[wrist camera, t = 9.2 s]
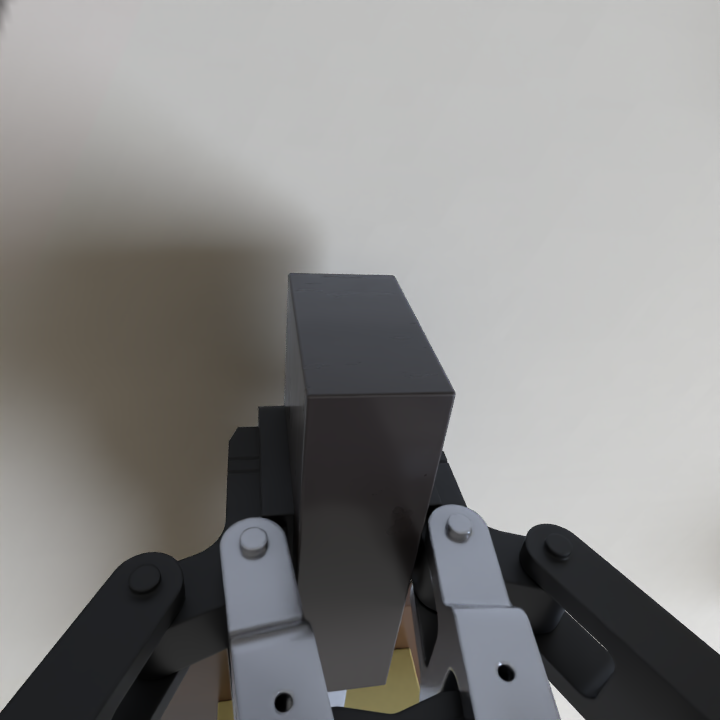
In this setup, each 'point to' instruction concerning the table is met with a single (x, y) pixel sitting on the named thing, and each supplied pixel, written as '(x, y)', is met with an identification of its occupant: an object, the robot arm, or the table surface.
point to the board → (212, 680)
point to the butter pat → (389, 688)
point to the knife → (359, 463)
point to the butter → (225, 710)
